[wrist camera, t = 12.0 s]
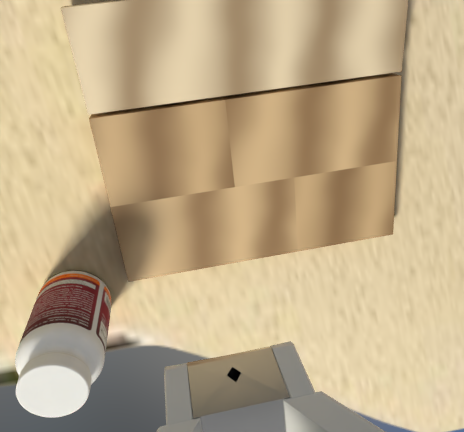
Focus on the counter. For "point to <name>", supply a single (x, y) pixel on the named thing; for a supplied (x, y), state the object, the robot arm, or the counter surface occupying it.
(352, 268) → the counter surface
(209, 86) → the plank
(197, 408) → the robot arm
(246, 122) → the laid floor
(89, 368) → the pill bottle
